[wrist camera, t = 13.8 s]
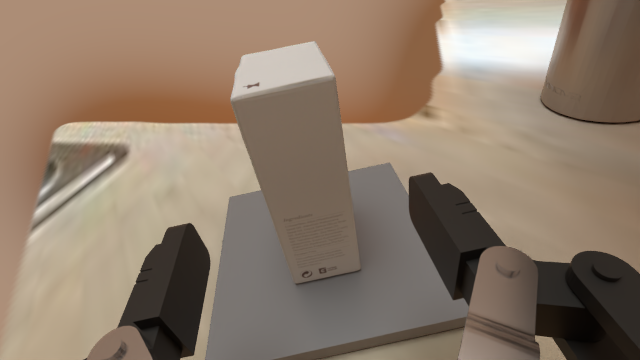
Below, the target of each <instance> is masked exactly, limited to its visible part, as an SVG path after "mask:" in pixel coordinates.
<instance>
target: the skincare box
mask: <svg viewBox="0 0 640 360" xmlns="http://www.w3.org/2000/svg"><path fill="white" fill-rule="evenodd" d="M230 100H231V104H232V107H233V111H234V114H235V116H236V120H237V123H238V126H239V129H240V131H241V135H242V138H243V140H244V143H245V146H246V148H247V151H248V154H249V156H250V159H251V162H252V165H253V168H254V170H255V173H256V176H257V179H258V182H259V185H260V188H261V191H262V193H263V196H264V199H265V202H266V205H267V207H268V210H269V213H270V216H271V219H272V222H273V225H274V227H275V230H276V233H277V236H278V239H279V242H280V245H281V248H282V250H283V253H284V256H285V259H286V262H287V265H288V267H289V270H290V273H291V276H292V279H293V282H294V283H296V284H297V283H303V282H307V281H312V280H317V279H321V278H325V277H330V276H334V275H339V274H344V273H349V272H354V271H358V270H360V268H361V265H360V257H359V250H358V243H357V236H356V229H355V221H354V213H353V205H352V197H351V190H350V183H349V176H348V168H347V161H346V153H345V146H344V138H343V130H342V123H341V115H340V108H339V101H338V94H337V86H336V79H335V75H334V73H333V71H332V70H331V68H330V66H329V64H328V62H327V61H326V59H325V57H324V56H323V54H322V52H321V51H320V49H319V47H318V45H317V43H316V42H315V41H312V42H307V43H302V44H297V45H292V46H288V47H283V48H278V49H273V50H268V51H263V52H258V53H252V54H247V55H244V56H242V58H241V60H240V64H239V67H238V68H237V70H236V73H235V82H234V86H233V91H232V95H231V99H230Z"/></svg>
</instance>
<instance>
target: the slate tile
mask: <svg viewBox="0 0 640 360" xmlns="http://www.w3.org/2000/svg"><path fill="white" fill-rule="evenodd" d="M348 176H349V183H350V190H351V197H352V205H353V213H354V221H355V229H356V236H357V243H358V250H359V257H360V265H361V268H360V270H358V271H354V272H349V273H344V274H339V275H334V276H330V277H325V278H321V279H317V280H312V281H307V282H303V283H297V284H296V283H294V282H293V279H292V276H291V273H290V270H289V267H288V265H287V262H286V259H285V256H284V253H283V250H282V248H281V245H280V242H279V239H278V236H277V233H276V230H275V227H274V225H273V222H272V219H271V216H270V213H269V210H268V207H267V205H266V202H265V199H264V196H263V193H262V191H256V192H251V193H247V194H242V195H237V196H233V197H230V198H229V204H228V211H227V217H226V224H225V231H224V237H223V244H222V251H221V257H220V264H219V271H218V277H217V284H216V291H215V297H214V304H213V311H212V317H211V324H210V330H209V337H208V344H207V350H206V357H205V360H315V359H320V358H325V357H329V356H334V355H338V354H343V353H347V352H352V351H356V350H361V349H365V348H370V347H374V346H379V345H383V344H388V343H392V342H397V341H402V340H406V339H411V338H415V337H420V336H424V335H429V334H433V333H438V332H442V331H447V330H451V329H456V328H460V327H465V323H466V318H467V314H468V309H469V306H468V305H467V303H466V301H465V299H464V298H462V299H458V300H452V298H451V296H450V294H449V292H448V290H447V288H446V286H445V285H444V283H443V281H442V279H441V277H440V275H439V273H438V271H437V269H436V267H435V265H434V264H433V262H432V260H431V258H430V256H429V254H428V252H427V250H426V248H425V246H424V245H423V243H422V241H421V239H420V237H419V235H418V233H417V231H416V229H415V227H414V225H413V223H412V221H411V218H410V214H409V195H408V194H407V192H406V190H405V188H404V187H403V185H402V183H401V181H400V180H399V178H398V176H397V174H396V173H395V171H394V169H393V167H392V166H391V164H390V163H385V164H381V165H376V166H371V167H367V168H362V169H358V170H353V171H348Z"/></svg>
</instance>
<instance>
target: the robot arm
mask: <svg viewBox="0 0 640 360" xmlns="http://www.w3.org/2000/svg"><path fill="white" fill-rule="evenodd" d="M541 100H542V102H543V103H544V104H545V105H546V106H547V107H549V108H550V109H552V110H554V111H556V112H558V113H560V114H563V115H566V116H569V117H573V118H578V119H582V120H589V121H596V122H631V121H638V120H640V0H567V3H566V6H565V10H564V14H563V17H562V21H561V24H560V28H559V32H558V35H557V39H556V43H555V46H554V50H553V54H552V57H551V61H550V64H549V68H548V72H547V76H546V79H545V83H544V87H543V90H542V94H541ZM409 214H410V218H411V221H412V223H413V225H414V227H415V229H416V231H417V233H418V235H419V237H420V239H421V241H422V243H423V245H424V246H425V248H426V250H427V252H428V254H429V256H430V258H431V260H432V262H433V264H434V265H435V267H436V269H437V271H438V273H439V275H440V277H441V279H442V281H443V283H444V285H445V286H446V288H447V290H448V292H449V294H450V296H451V298H452V300H458V299H462V298H464V299H465V301H466V303H467V305H468V306H469V309H468V314H467V318H466V323H465V327H464V332H463V337H462V341H461V346H460V350H459V355H458V360H540V348H539V344H538V343H537V342H535V335H537V336H545V337H552V338H553V339H554V341H555V342H556V344H557V345H558V347H559V348H560V350H561V351H562V353H563V354H564V356H565V357H566V359H567V360H640V274H639V273H638V272H637V271H636V270H635V269H634V268H633V267H631V266H630V265H629V264H628V263H626V262H625V261H623V260H621V259H619V258H617V257H615V256H613V255H610V254H607V253H603V252H598V251H584V252H581V253H578V254H577V255H575V256H574V258H573V259H572V261H571V263H558V262H542V261H535V260H532V259H531V258H530V257H529V256H527V255H526V254H525V253H523V252H521V251H519V250H517V249H514V248H511V247H507V246H506V245H505V244H504V243H503V242H502V241H501V239H500V238H499V237H498V236H497V234H496V233H495V232H494V231H493V229H492V228H491V227H490V226H489V224H488V223H487V222H486V221H485V219H484V218H483V217H482V216H481V214H480V213H479V212H477V209H476V208H475V207H474V206H473V204H472V203H470V201H469V199H468V198H467V197H466V196H465V194H464V193H463V192H462V191H461V190H459V189H458V188H456V187H454V186H453V185H451V184H449V183H447V184H443V185H441V184H440V183H439V181H438V180H437V179H436V177H435V176H434V175H433V174H432V173H426V174H421V175H416V176H412V177H410V178H409ZM209 270H210V256H209V252H208V250H207V248H206V246H205V245H204V243H203V241H202V240H201V238H200V236H199V234H198V233H197V231H196V229H195V227H194V226H193V225H192V224H191V223H188V224H183V225H178V226H174V227H169V228H168V229H167V230H166V232H165V235H164V238H163V240H162V243H161V244H158V245H155V247H154V248H153V249H152V250H151V252H150V253H149V254H148V255H147V256H146V258H145V260H144V263H143V265H142V268H141V270H140V271H141V273H139V275H138V278H137V280H136V284H135V285H134V288H133V290H132V293H131V295H130V298H129V300H128V303H127V305H126V308H125V310H124V313H123V315H122V318H121V320H120V323H119V325H118V327H117V328H116V329H114V330H112V331H110V332H109V333H107V334H106V335H105V336H104V337H102V338H101V339H100V340H99V341H98V342H97V343H96V345H95V346H94V347H93V349H92V350H91V352H90V354H89V355H88V358H86V359H84V360H180V358H183V357H188V356H193V355H194V351H195V346H196V341H197V335H198V330H199V324H200V319H201V314H202V308H203V303H204V297H205V292H206V287H207V281H208V276H209Z"/></svg>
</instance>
